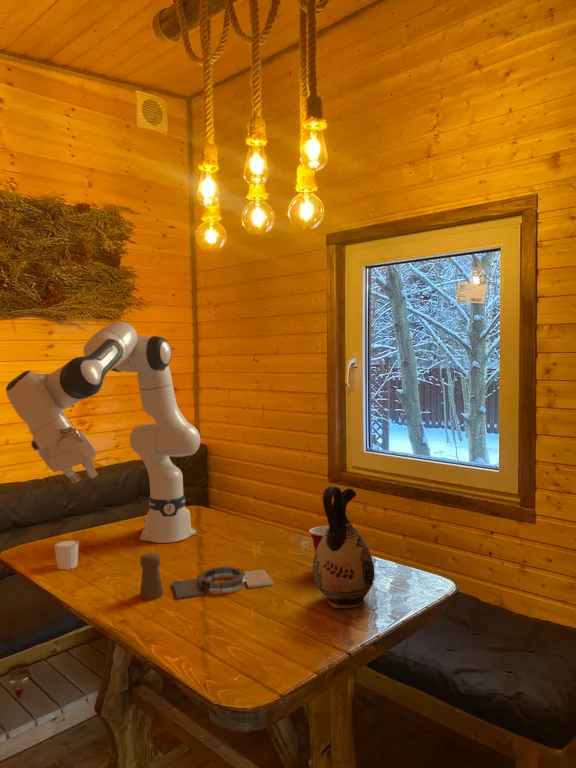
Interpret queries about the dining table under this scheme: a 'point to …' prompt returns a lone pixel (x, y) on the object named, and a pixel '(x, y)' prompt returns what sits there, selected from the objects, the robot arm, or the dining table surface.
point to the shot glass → (66, 554)
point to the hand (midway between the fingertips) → (85, 479)
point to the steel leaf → (251, 580)
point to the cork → (150, 577)
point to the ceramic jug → (342, 555)
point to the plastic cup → (318, 535)
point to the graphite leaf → (207, 582)
